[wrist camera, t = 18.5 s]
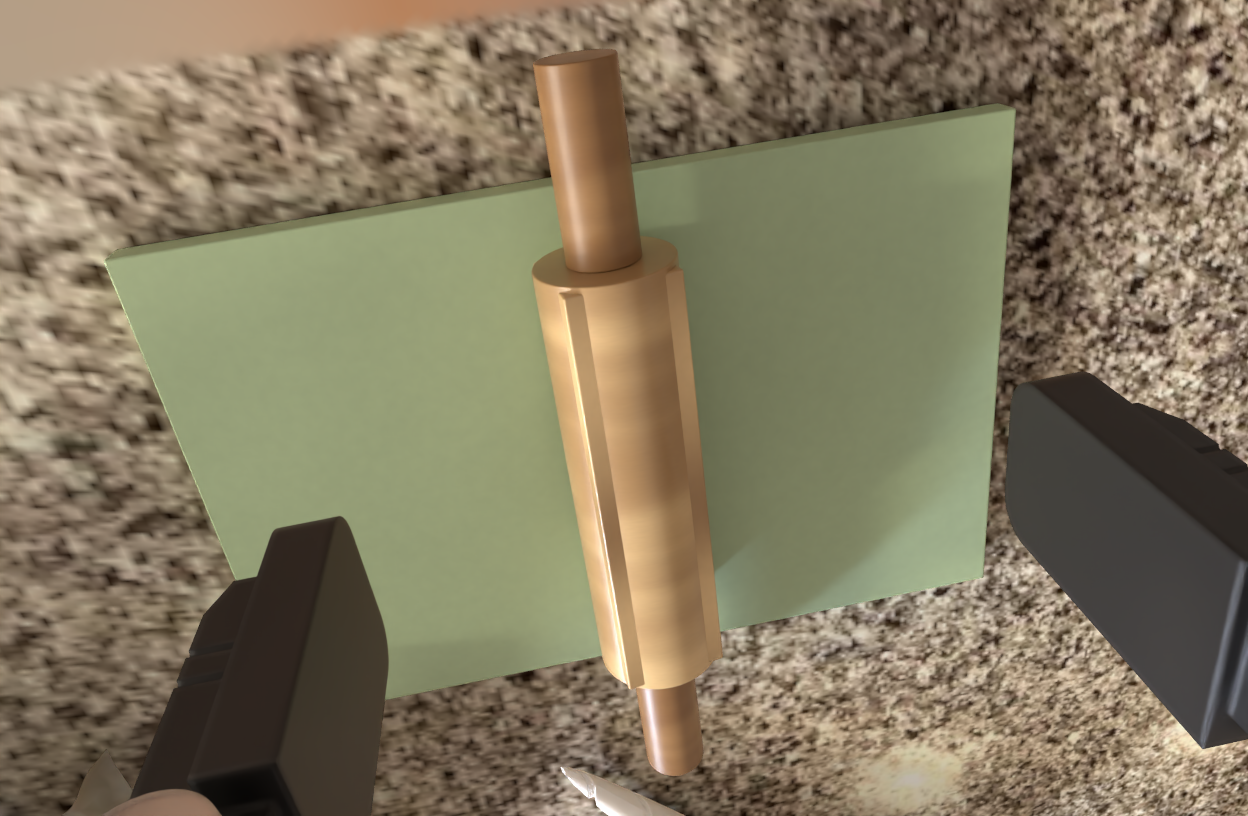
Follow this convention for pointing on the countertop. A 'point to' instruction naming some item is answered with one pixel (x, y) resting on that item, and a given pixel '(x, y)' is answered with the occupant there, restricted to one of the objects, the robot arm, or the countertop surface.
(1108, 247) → the countertop surface
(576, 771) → the unicorn horn
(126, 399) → the countertop surface
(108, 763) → the white terrain model
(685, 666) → the rolling pin
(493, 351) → the pastry board
